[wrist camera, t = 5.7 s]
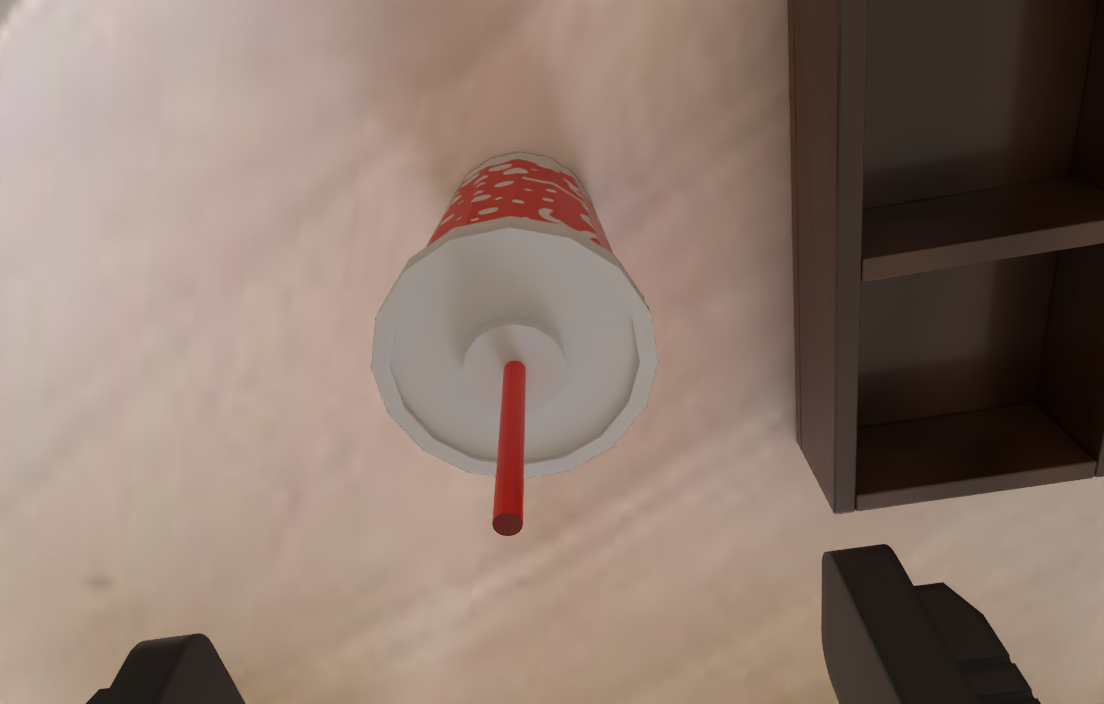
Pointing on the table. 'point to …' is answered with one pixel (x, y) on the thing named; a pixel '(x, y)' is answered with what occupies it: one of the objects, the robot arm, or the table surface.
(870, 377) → the divided tray
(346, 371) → the table surface
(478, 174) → the beverage cup
